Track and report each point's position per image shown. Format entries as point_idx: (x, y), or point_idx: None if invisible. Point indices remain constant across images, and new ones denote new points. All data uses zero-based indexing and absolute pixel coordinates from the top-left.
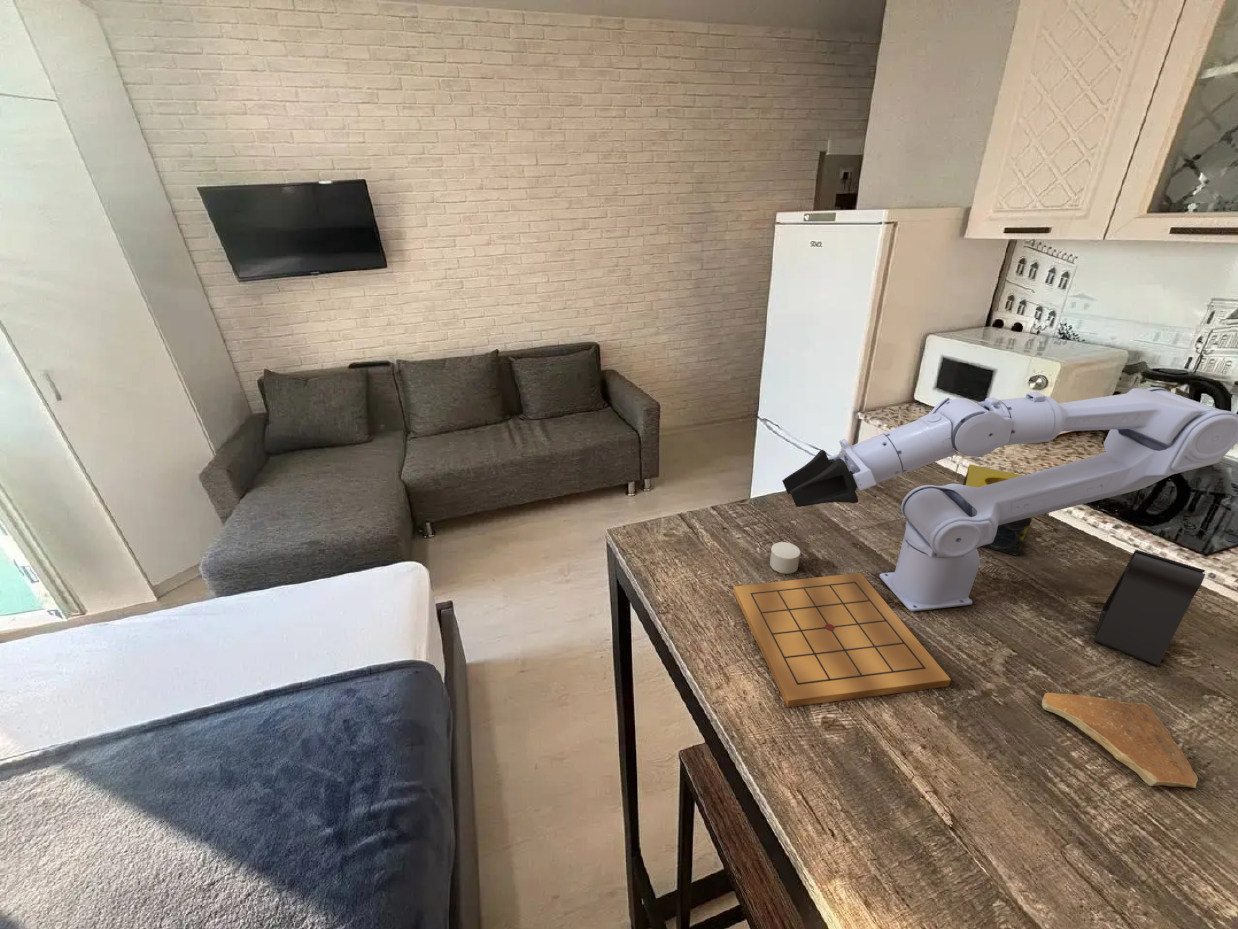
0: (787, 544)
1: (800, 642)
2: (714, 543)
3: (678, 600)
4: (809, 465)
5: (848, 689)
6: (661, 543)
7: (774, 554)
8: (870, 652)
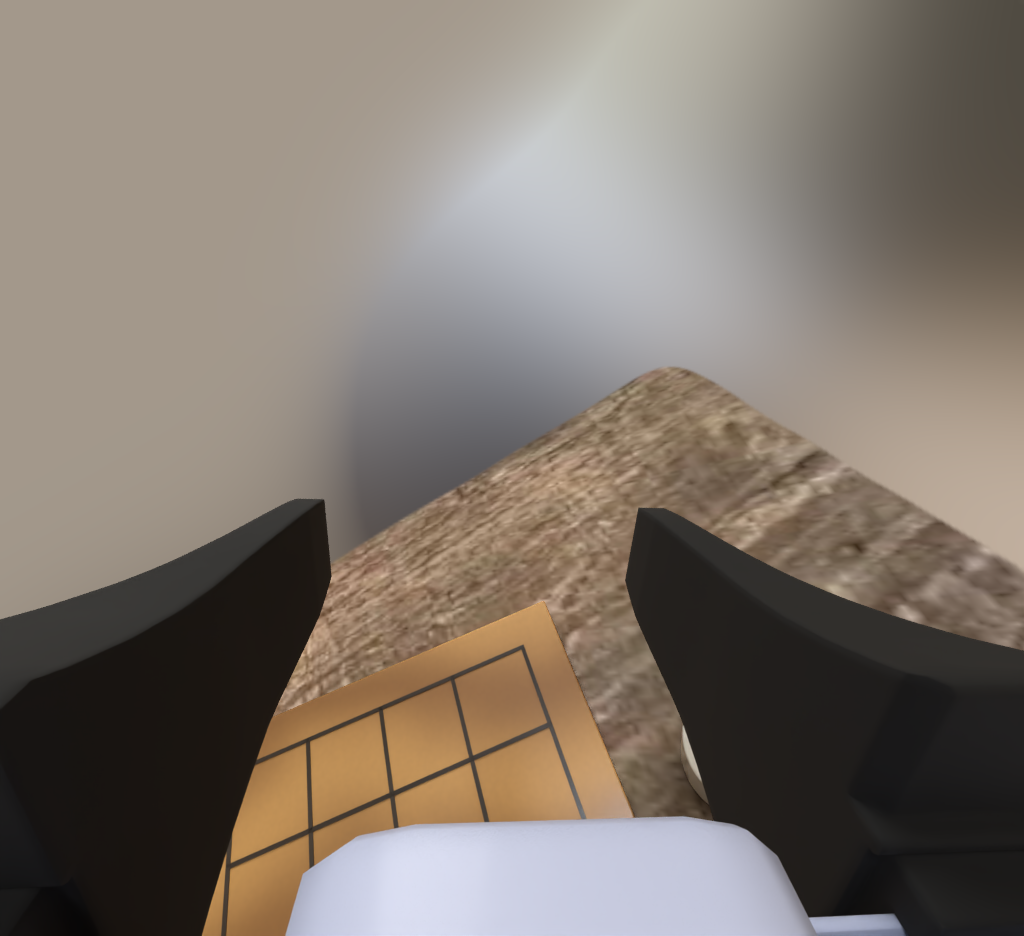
0: None
1: (351, 789)
2: (752, 534)
3: (498, 506)
4: (746, 599)
5: None
6: (689, 429)
7: None
8: None
